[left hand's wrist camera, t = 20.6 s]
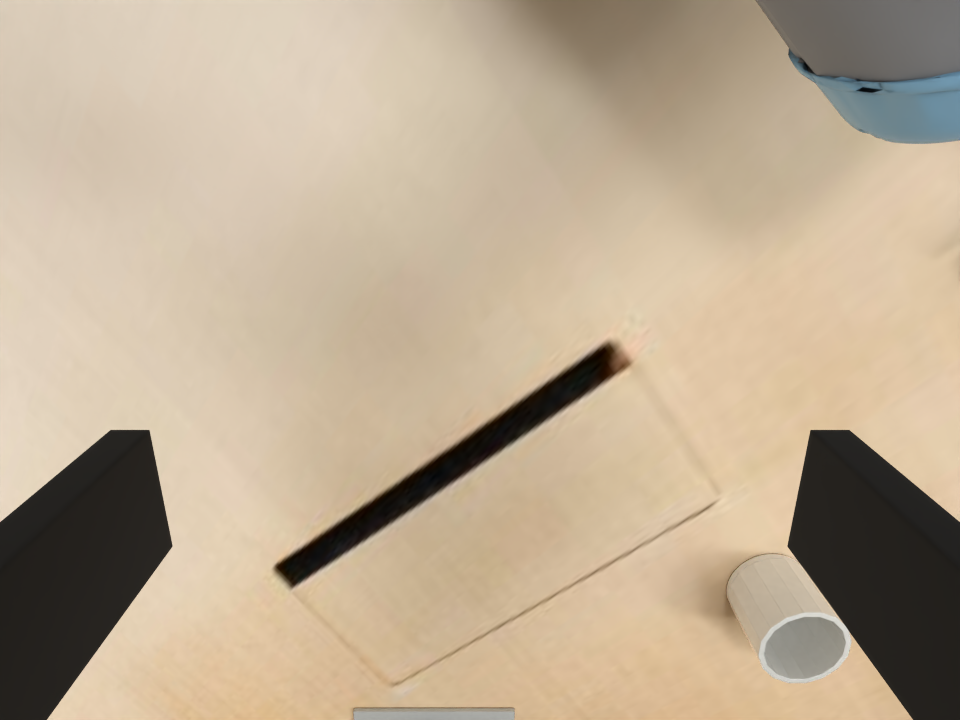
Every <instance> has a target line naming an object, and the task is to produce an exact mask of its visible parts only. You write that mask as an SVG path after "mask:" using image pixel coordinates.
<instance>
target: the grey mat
mask: <svg viewBox="0 0 960 720" xmlns="http://www.w3.org/2000/svg"><path fill="white" fill-rule="evenodd" d="M353 713H354V720H514V713H515V711H514V708H354V711H353Z"/></svg>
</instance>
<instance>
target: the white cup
mask: <svg viewBox="0 0 960 720" xmlns="http://www.w3.org/2000/svg"><path fill="white" fill-rule="evenodd" d="M727 598H728V601H729V603H730V605H731V607H732V610H733V612H734V614H735V616H736V618H737V620H738V622H739V624H740V626H741V628H742V630H743V631H744V633H745V635H746V637H747V639H748V641H749V643H750V645H751V647H752V649H753V651H754V653H755V655H756V657H757V659H758V660H759V662H760V664H761V666H762V668H763V669H764V670H765V671H766V672H767V673H768V674H769V675H771V676H772V677H773V678H775V679H778V680H781V681H784V682H787V683H808V682H811V681H814V680H818V679H821V678H824V677H825V676H827V675H828V674H830V673H832V672H833V671H835V670H836V669H838V668H839V666H840V665H841V664H842V663H843V661H844V660H845V659H846V658H847V656H848V654H849V650H850V646H851V638H850V634H849V630H848V629H847V628H846V626H845V625H844V624H843V622H842V621H841V619H840V618H839V617H838V615H837V614H836V613H835V611H834V610H833V608H832V607H831V606H830V604H829V603H828V601H827V600H826V599H825V597H824V596H823V595H822V593H821V592H820V590H819V589H818V588H817V586H816V585H815V584H814V582H813V581H812V579H811V578H810V577H809V575H808V574H807V573H806V571H805V570H804V568H803V567H802V566H801V565H800V564H799V563H798V562H797V561H796V560H794V559H793V558H790V557H788V556H785V555H780V554H765V555H760V556H757V557H754V558H751V559H749V560H747V561H746V562H744V563H743V564H741V565H740V566H739V567H738V568H737V569H736V570H735V571H734V572H733V574H732V575H731V577H730V579H729V581H728V585H727Z"/></svg>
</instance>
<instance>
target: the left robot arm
mask: <svg viewBox="0 0 960 720" xmlns="http://www.w3.org/2000/svg"><path fill="white" fill-rule="evenodd" d="M756 1H757V3H758V4H759V6H760V7H761V9H762V10H763V11H764V13H765V14H766V16H767V17H768V19H769V20H770V21H771V23H772V24H773V26H774V27H775V29H776V30H777V31H778V33H779V34H780V36H781V37H782V39H783V40H784V41H785V43H786V44H787V46H788V47H789V54H788V55H789V58H790V59H791V61H792V63H793V64H794V66H795V67H796V69H797V70H798V71H799V72H800V73H801V74H802V75H804V76H805V77H807V78H808V79H810V80H811V81H813V82H815V83H816V84H817V86H818V87H819V88H820V89H821V91H822V92H823V93H824V95H825V96H826V97H827V98H828V100H829V101H830V102H831V103H832V105H833V106H834V107H835V109H836V110H837V111H838V112H839V114H840V115H841V116H842V117H843V118H844V119H845V121H846V122H848V123H849V124H850V125H851V126H853V127H854V128H855V129H857V130H858V131H861V132H864V133H868V134H871V135H873V136H875V137H876V138H881V139H883V140H885V141H889V142H895V143H906V144H929V143H942V142H951V141H958V140H960V0H756ZM171 548H172V541H171V536H170V531H169V526H168V521H167V516H166V511H165V506H164V501H163V496H162V491H161V486H160V481H159V476H158V471H157V466H156V461H155V456H154V451H153V446H152V441H151V436H150V431H149V430H110V431H109V432H108V433H107V434H105V435H104V436H103V437H102V438H101V439H99V440H98V441H97V442H96V443H95V444H93V445H92V446H91V447H90V448H89V449H88V450H86V451H85V452H84V453H83V454H82V455H80V456H79V457H78V458H77V459H76V460H74V461H73V462H72V463H71V464H70V465H68V466H67V467H66V468H65V469H64V470H62V471H61V472H60V473H59V474H58V475H56V476H55V477H54V478H53V479H52V480H50V481H49V482H48V483H47V484H46V485H44V486H43V487H42V488H41V489H40V490H38V491H37V492H36V493H35V494H34V495H32V496H31V497H30V498H29V499H28V500H26V501H25V502H24V503H23V504H22V505H20V506H19V507H18V508H17V509H16V510H14V511H13V512H12V513H11V514H10V515H8V516H7V517H6V518H5V519H4V520H2V521H1V522H0V720H47V719H48V717H49V716H50V715H51V713H52V712H53V710H54V709H55V708H56V706H57V705H58V704H59V702H60V701H61V699H62V698H63V697H64V695H65V694H66V693H67V691H68V690H69V688H70V687H71V686H72V684H73V683H74V681H75V680H76V679H77V677H78V676H79V675H80V673H81V672H82V670H83V669H84V668H85V666H86V665H87V664H88V662H89V661H90V659H91V658H92V657H93V655H94V654H95V653H96V651H97V650H98V648H99V647H100V646H101V644H102V643H103V641H104V640H105V639H106V637H107V636H108V635H109V633H110V632H111V630H112V629H113V628H114V626H115V625H116V624H117V622H118V621H119V619H120V618H121V617H122V615H123V614H124V613H125V611H126V610H127V608H128V607H129V606H130V604H131V603H132V601H133V600H134V599H135V597H136V596H137V595H138V593H139V592H140V590H141V589H142V588H143V586H144V585H145V584H146V582H147V581H148V579H149V578H150V577H151V575H152V574H153V573H154V571H155V570H156V568H157V567H158V566H159V564H160V563H161V561H162V560H163V559H164V557H165V556H166V555H167V553H168V552H169V550H170V549H171ZM788 548H789V549H790V550H791V552H792V553H793V555H794V556H795V557H796V559H797V560H798V562H799V563H800V564H801V566H802V567H803V568H804V570H805V571H806V573H807V574H808V575H809V577H810V578H811V579H812V581H813V582H814V584H815V585H816V586H817V588H818V589H819V590H820V592H821V593H822V595H823V596H824V597H825V599H826V600H827V601H828V603H829V604H830V606H831V607H832V608H833V610H834V611H835V613H836V614H837V615H838V617H839V618H840V619H841V621H842V622H843V624H844V625H845V626H846V628H847V629H848V630H849V632H850V633H851V635H852V636H853V637H854V639H855V640H856V641H857V643H858V644H859V646H860V647H861V648H862V650H863V651H864V653H865V654H866V655H867V657H868V658H869V659H870V661H871V662H872V664H873V665H874V666H875V668H876V669H877V670H878V672H879V673H880V675H881V676H882V677H883V679H884V680H885V681H886V683H887V684H888V686H889V687H890V688H891V690H892V691H893V693H894V694H895V695H896V697H897V698H898V699H899V701H900V702H901V704H902V705H903V706H904V708H905V709H906V710H907V712H908V713H909V715H910V716H911V717H912V719H913V720H960V522H959V521H958V520H956V519H955V518H954V517H953V516H952V515H950V514H949V513H948V512H947V511H946V510H944V509H943V508H942V507H941V506H940V505H938V504H937V503H936V502H935V501H934V500H932V499H931V498H930V497H929V496H928V495H926V494H925V493H924V492H923V491H922V490H920V489H919V488H918V487H917V486H916V485H914V484H913V483H912V482H911V481H910V480H908V479H907V478H906V477H905V476H904V475H902V474H901V473H900V472H899V471H898V470H896V469H895V468H894V467H893V466H892V465H890V464H889V463H888V462H887V461H886V460H884V459H883V458H882V457H881V456H880V455H878V454H877V453H876V452H875V451H874V450H872V449H871V448H870V447H869V446H868V445H867V444H865V443H864V442H863V441H862V440H861V439H859V438H858V437H857V436H856V435H855V434H853V433H852V432H851V431H850V430H811V431H810V436H809V441H808V446H807V451H806V456H805V461H804V466H803V471H802V476H801V481H800V486H799V491H798V496H797V501H796V506H795V511H794V516H793V521H792V526H791V531H790V536H789V541H788Z"/></svg>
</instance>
